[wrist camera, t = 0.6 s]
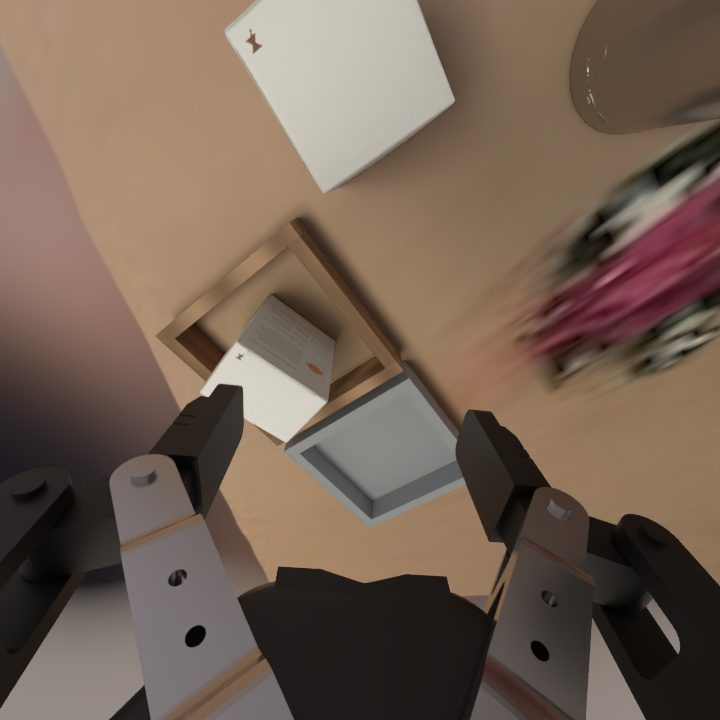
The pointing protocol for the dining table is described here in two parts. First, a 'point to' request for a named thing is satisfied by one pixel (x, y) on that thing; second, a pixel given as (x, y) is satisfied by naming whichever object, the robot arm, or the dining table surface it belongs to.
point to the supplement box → (343, 77)
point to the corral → (387, 358)
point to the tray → (383, 450)
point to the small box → (278, 369)
